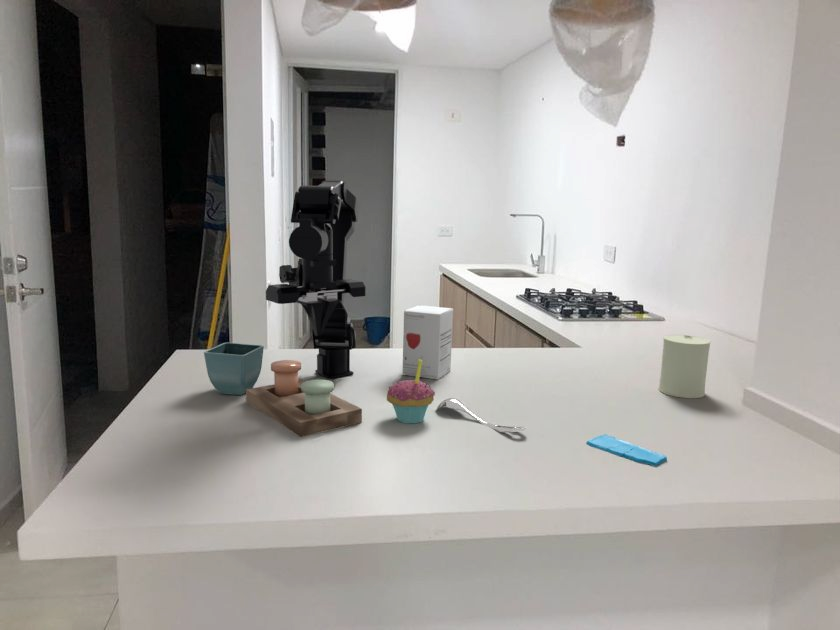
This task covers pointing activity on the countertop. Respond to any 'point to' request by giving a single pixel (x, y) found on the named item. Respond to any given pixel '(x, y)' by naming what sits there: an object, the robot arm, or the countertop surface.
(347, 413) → the panel
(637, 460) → the blue flat block
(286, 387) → the terracotta plunger
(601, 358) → the countertop surface
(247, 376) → the flower pot
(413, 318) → the supplement box
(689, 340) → the can
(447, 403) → the silver spoon
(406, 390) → the cupcake
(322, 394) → the sage plunger
